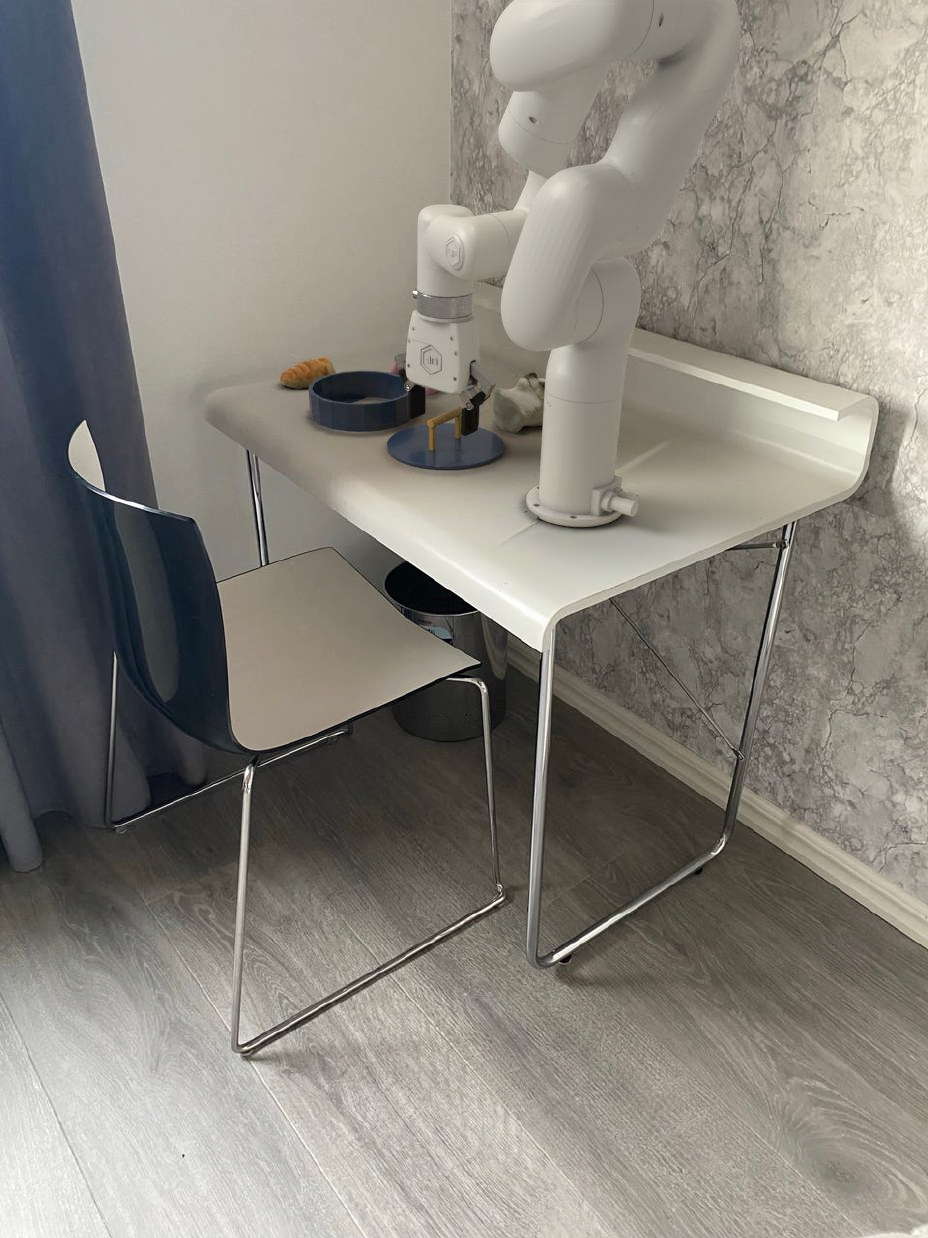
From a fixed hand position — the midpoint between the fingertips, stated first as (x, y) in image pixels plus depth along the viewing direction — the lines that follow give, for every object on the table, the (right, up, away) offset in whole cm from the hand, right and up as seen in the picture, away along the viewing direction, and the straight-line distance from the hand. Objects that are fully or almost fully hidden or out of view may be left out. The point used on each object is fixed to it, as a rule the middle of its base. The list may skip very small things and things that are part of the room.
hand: (442, 424), depth 144 cm
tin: (-13, +4, +13) cm, 19 cm away
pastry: (-23, +12, +27) cm, 38 cm away
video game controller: (-5, +11, +25) cm, 28 cm away
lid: (0, -3, +1) cm, 3 cm away
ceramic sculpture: (+14, +2, +11) cm, 18 cm away
